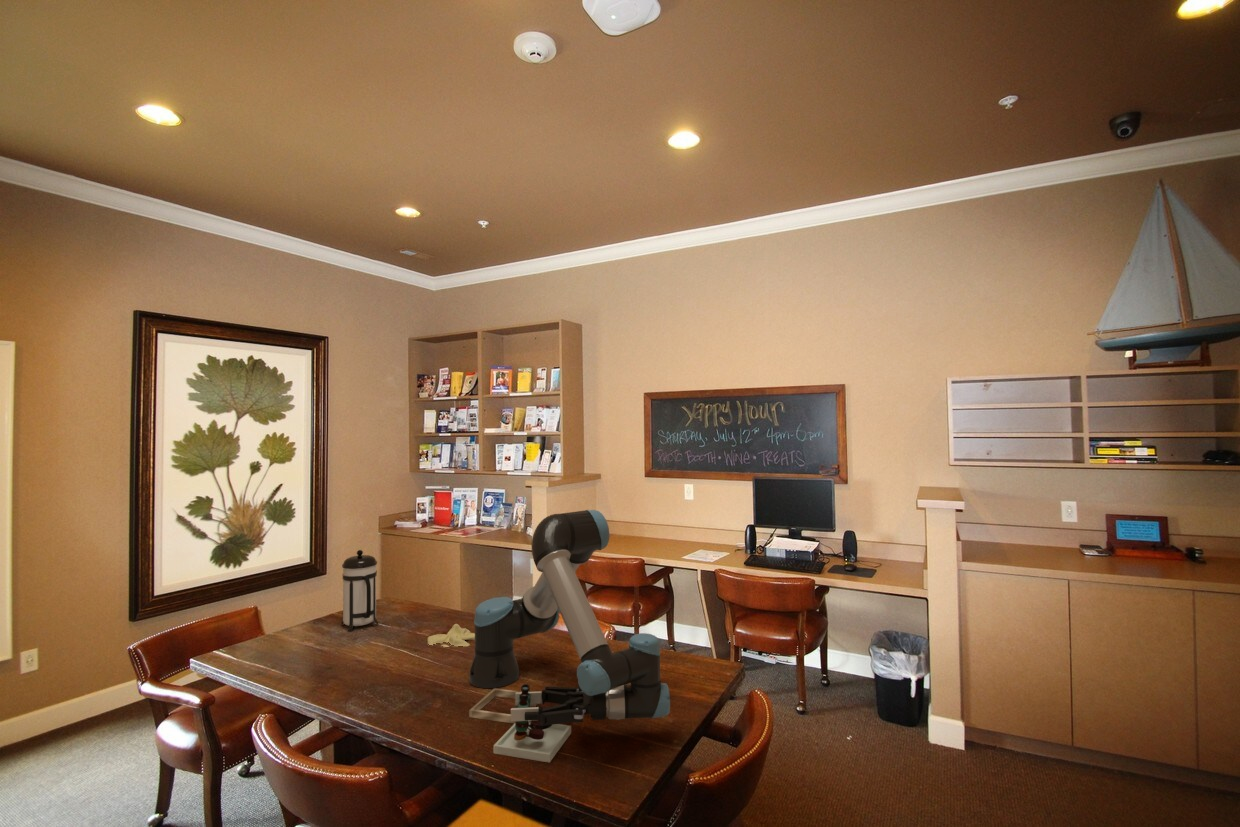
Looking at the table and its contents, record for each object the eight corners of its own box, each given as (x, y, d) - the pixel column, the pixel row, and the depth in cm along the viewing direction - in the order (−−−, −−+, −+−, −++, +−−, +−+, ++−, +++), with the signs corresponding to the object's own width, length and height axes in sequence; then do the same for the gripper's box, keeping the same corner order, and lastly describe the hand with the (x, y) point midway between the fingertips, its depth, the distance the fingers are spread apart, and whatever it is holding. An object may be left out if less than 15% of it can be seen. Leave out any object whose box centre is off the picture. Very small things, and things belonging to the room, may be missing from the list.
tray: (493, 753, 135) (493, 745, 135) (519, 725, 148) (519, 718, 148) (549, 762, 131) (549, 754, 131) (571, 733, 144) (571, 725, 144)
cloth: (416, 643, 209) (416, 626, 209) (457, 629, 224) (457, 613, 225) (456, 656, 196) (456, 638, 197) (496, 639, 212) (496, 623, 212)
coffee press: (328, 632, 221) (328, 554, 222) (354, 618, 237) (354, 546, 238) (369, 634, 218) (369, 555, 219) (392, 620, 234) (392, 546, 235)
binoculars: (555, 699, 136) (512, 697, 135) (551, 744, 135) (508, 743, 135) (556, 683, 145) (516, 681, 144) (552, 725, 144) (512, 723, 144)
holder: (469, 717, 153) (469, 710, 153) (494, 694, 166) (494, 688, 166) (518, 724, 148) (518, 717, 149) (540, 700, 161) (540, 694, 162)
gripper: (608, 740, 130) (507, 744, 129) (605, 698, 151) (518, 702, 149) (607, 706, 131) (507, 711, 129) (605, 669, 151) (518, 673, 150)
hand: (513, 706), depth 139 cm, fingers closed on binoculars, 8 cm apart
